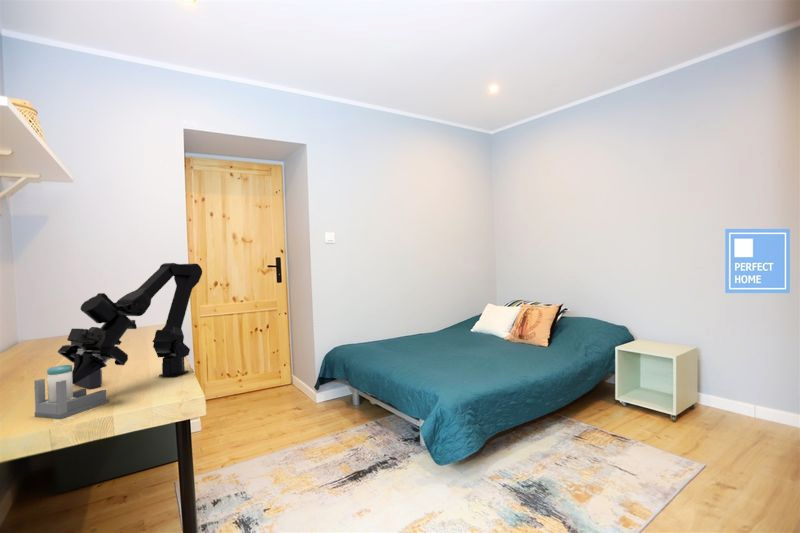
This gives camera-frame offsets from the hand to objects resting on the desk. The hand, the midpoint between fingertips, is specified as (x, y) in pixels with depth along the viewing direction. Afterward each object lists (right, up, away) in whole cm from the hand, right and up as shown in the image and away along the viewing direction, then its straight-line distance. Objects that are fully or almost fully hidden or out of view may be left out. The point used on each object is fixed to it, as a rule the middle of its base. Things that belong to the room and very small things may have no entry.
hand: (71, 383), depth 102 cm
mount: (0, -7, +1) cm, 7 cm away
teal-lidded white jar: (-1, -6, -3) cm, 6 cm away
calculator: (-13, -7, +22) cm, 26 cm away
